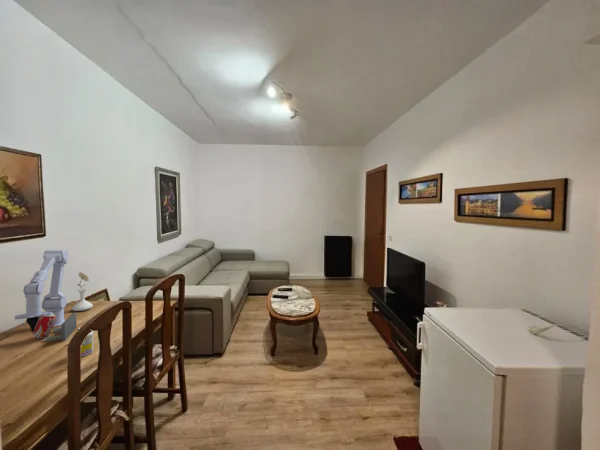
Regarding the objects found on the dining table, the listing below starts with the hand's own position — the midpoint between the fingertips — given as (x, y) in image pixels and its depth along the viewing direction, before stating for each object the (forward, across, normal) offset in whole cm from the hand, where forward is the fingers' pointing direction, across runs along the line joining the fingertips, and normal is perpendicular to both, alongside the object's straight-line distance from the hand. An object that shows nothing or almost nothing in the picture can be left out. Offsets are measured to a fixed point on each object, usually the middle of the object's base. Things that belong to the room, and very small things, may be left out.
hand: (33, 331), depth 149 cm
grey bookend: (+4, +11, +1) cm, 12 cm away
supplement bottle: (+4, +29, -26) cm, 39 cm away
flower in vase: (+3, +10, +44) cm, 45 cm away
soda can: (+3, +3, 0) cm, 4 cm away
